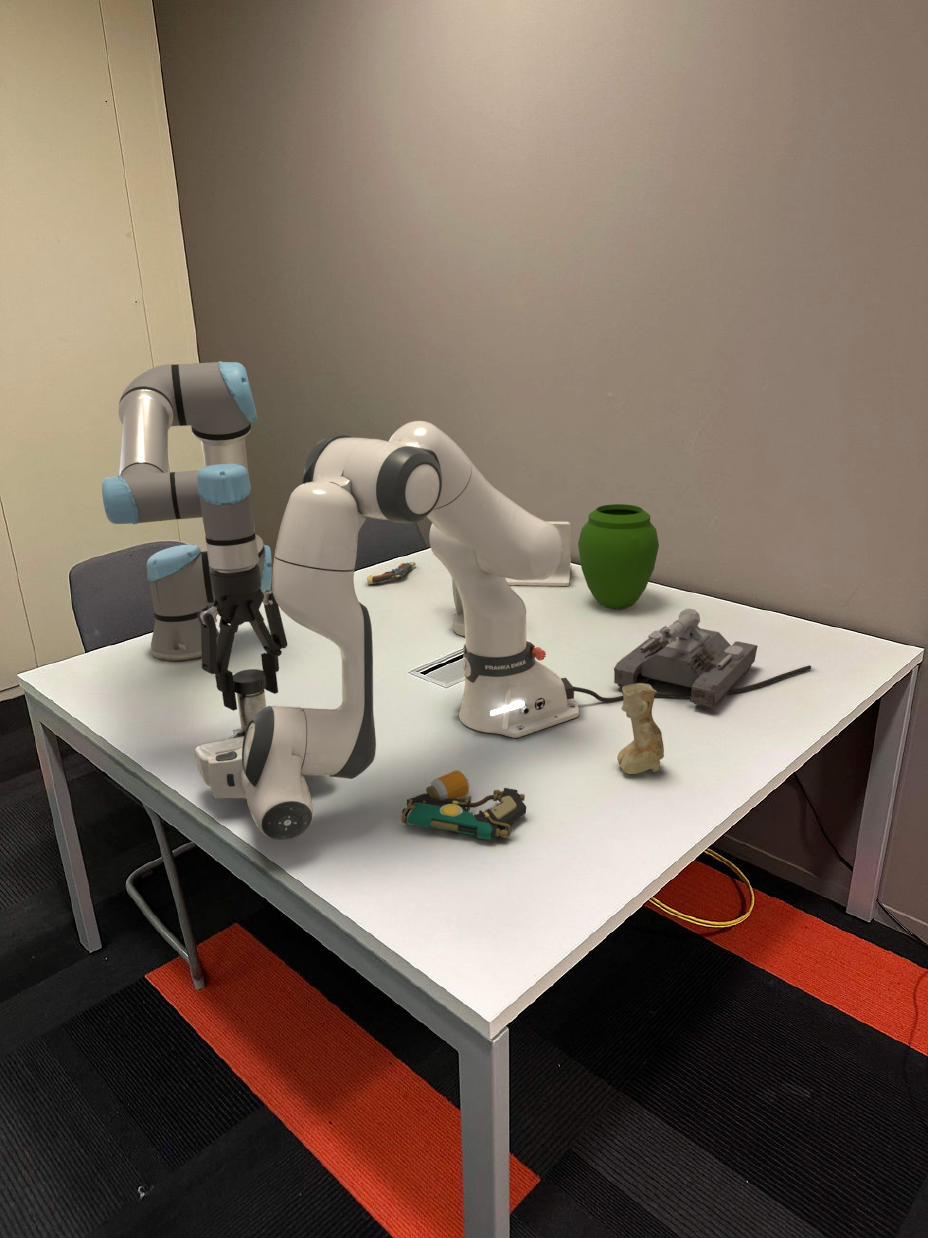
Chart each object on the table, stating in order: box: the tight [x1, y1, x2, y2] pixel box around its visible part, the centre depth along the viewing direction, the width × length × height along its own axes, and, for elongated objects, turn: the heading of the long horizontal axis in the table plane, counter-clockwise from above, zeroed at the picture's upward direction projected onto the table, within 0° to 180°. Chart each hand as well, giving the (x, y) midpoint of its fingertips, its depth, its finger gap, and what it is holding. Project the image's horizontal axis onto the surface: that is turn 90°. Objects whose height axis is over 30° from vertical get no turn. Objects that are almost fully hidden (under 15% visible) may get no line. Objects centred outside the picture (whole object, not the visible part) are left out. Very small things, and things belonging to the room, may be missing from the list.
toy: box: [613, 607, 758, 709], centre depth 170 cm, size 25×20×15 cm
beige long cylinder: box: [236, 689, 267, 736], centre depth 142 cm, size 4×4×16 cm
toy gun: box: [366, 561, 417, 585], centre depth 241 cm, size 3×19×10 cm
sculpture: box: [616, 683, 665, 775], centre depth 137 cm, size 6×7×15 cm
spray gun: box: [401, 769, 527, 841], centre depth 128 cm, size 4×17×15 cm
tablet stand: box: [505, 521, 572, 587], centre depth 236 cm, size 18×25×17 cm
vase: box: [577, 503, 660, 610], centre depth 210 cm, size 20×20×24 cm
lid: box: [233, 668, 267, 695], centre depth 139 cm, size 6×6×2 cm
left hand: (251, 698), depth 141 cm, fingers open, 7 cm apart
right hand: (254, 729), depth 143 cm, fingers closed on beige long cylinder, 4 cm apart
